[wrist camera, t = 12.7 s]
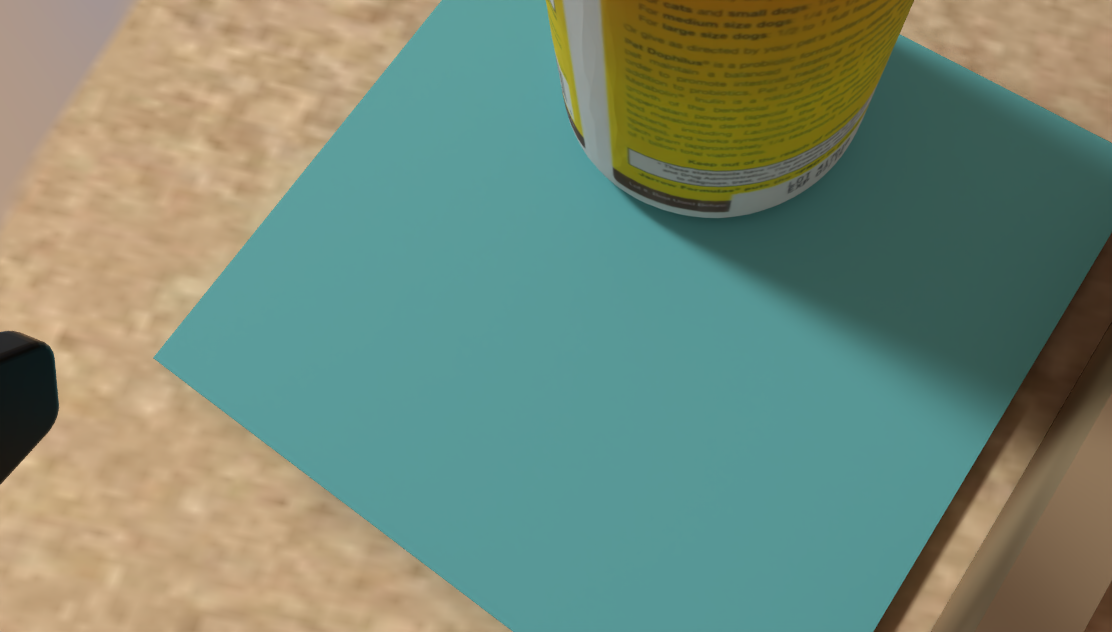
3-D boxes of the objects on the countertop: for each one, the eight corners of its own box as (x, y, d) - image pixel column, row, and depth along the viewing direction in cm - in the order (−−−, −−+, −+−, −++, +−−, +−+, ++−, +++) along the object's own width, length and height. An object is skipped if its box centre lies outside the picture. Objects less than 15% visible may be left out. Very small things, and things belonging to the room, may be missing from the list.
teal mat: (759, 815, 15) (760, 819, 14) (160, 362, 18) (153, 358, 17) (1143, 171, 17) (1152, 163, 17) (557, -132, 20) (556, -142, 20)
